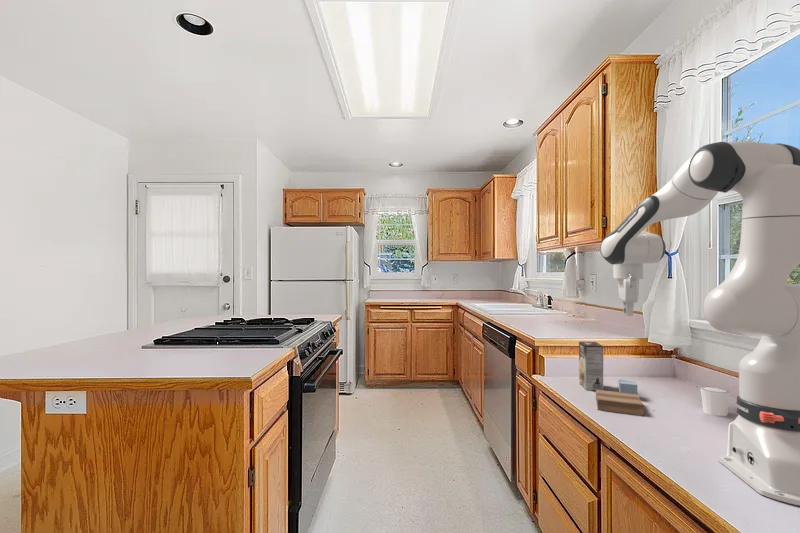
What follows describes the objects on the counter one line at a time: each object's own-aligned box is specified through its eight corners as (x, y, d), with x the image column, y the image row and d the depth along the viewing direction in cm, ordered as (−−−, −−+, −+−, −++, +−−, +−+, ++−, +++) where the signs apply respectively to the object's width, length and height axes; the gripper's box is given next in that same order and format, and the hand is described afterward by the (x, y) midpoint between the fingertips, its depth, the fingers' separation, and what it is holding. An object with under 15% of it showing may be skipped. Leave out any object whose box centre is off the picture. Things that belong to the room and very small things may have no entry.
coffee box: (578, 383, 150) (578, 341, 151) (596, 384, 149) (596, 341, 149) (585, 390, 141) (585, 345, 142) (604, 391, 140) (604, 345, 140)
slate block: (637, 400, 130) (637, 385, 130) (620, 398, 132) (620, 383, 132) (635, 396, 135) (635, 381, 135) (618, 394, 137) (618, 379, 137)
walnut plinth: (643, 415, 115) (643, 405, 115) (597, 409, 120) (597, 399, 120) (637, 403, 126) (637, 394, 126) (595, 398, 131) (595, 389, 131)
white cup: (735, 417, 114) (735, 393, 114) (708, 416, 115) (708, 391, 115) (721, 410, 121) (721, 387, 121) (696, 408, 122) (695, 385, 122)
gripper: (643, 273, 123) (643, 317, 123) (634, 273, 142) (634, 312, 142) (620, 273, 126) (620, 316, 126) (615, 273, 145) (615, 311, 144)
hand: (627, 314), depth 134 cm, fingers open, 8 cm apart
